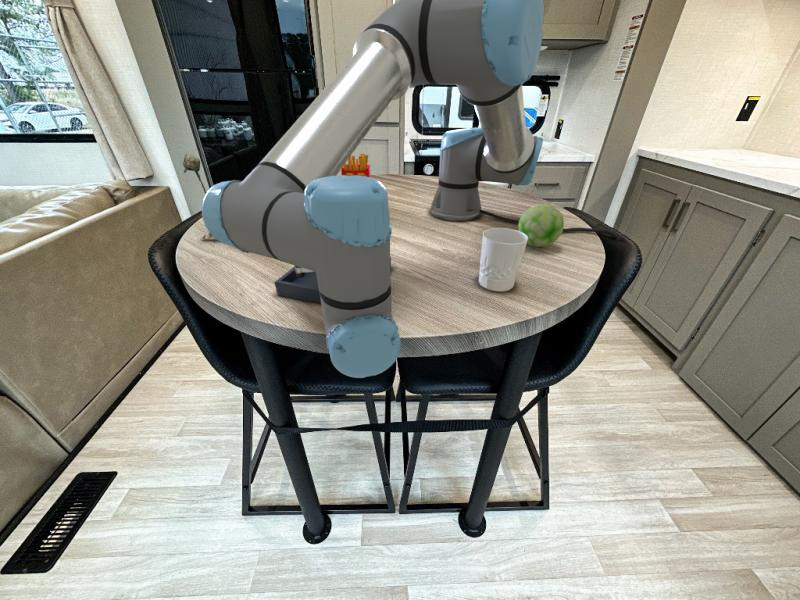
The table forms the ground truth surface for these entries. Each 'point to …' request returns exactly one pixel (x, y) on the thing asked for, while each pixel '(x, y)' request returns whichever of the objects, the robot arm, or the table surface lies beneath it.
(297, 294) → the tray
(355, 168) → the french fries container
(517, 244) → the white cup
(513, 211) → the table surface
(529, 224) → the decorative ball
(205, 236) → the plant with pod
